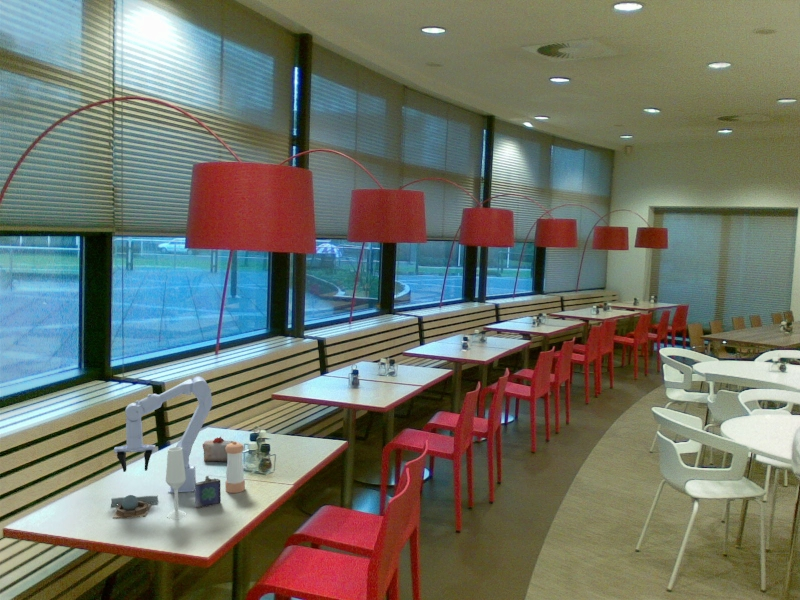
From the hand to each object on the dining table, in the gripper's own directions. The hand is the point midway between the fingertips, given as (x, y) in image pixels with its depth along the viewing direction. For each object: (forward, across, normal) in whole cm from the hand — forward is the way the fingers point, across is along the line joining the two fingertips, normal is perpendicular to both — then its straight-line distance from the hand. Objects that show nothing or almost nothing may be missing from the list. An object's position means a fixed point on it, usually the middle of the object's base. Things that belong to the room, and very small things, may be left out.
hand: (135, 470), depth 269 cm
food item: (+10, +28, +37) cm, 47 cm away
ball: (+6, +1, -17) cm, 18 cm away
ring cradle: (+9, +1, -17) cm, 19 cm away
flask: (+10, +27, -15) cm, 33 cm away
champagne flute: (+10, +17, -23) cm, 30 cm away
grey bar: (+9, +1, -9) cm, 13 cm away
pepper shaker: (+10, +37, -2) cm, 38 cm away
